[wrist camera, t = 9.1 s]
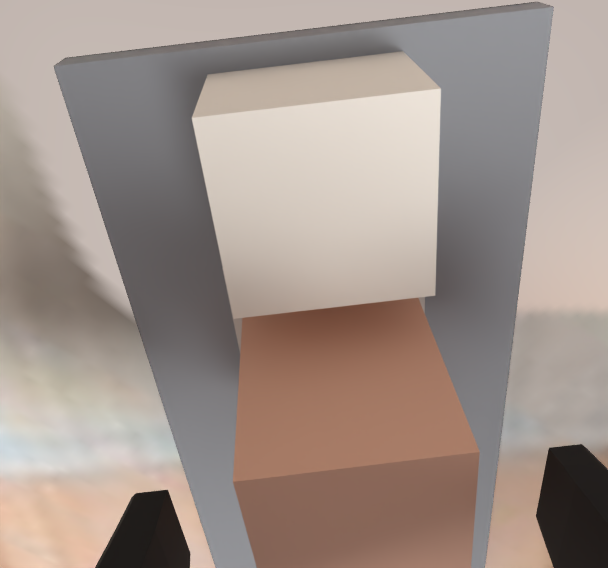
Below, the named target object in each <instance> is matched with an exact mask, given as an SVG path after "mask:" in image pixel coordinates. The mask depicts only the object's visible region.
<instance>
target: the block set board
mask: <svg viewBox="0 0 608 568" xmlns="http://www.w3.org/2000/svg"><path fill="white" fill-rule="evenodd" d="M553 8H554V7H553V6H550V5H546V4H543V3H540V2H531V3H523V4H515V5H506V6H498V7H489V8H481V9H472V10H464V11H455V12H447V13H439V14H430V15H422V16H413V17H405V18H397V19H388V20H380V21H372V22H363V23H355V24H347V25H338V26H330V27H322V28H313V29H304V30H296V31H287V32H279V33H270V34H262V35H254V36H246V37H237V38H228V39H220V40H212V41H204V42H195V43H186V44H178V45H171V46H161V47H153V48H144V49H136V50H128V51H120V52H111V53H103V54H94V55H86V56H77V57H69V58H65V59H63V60H62V61H60V62H59V63H57V64H56V65H55V66H54V69H55V72H56V75H57V79H58V82H59V85H60V88H61V91H62V94H63V97H64V100H65V103H66V106H67V109H68V112H69V116H70V119H71V122H72V125H73V128H74V131H75V134H76V137H77V140H78V143H79V147H80V149H81V152H82V156H83V159H84V162H85V165H86V168H87V171H88V174H89V177H90V180H91V184H92V187H93V190H94V193H95V196H96V199H97V202H98V205H99V208H100V211H101V214H102V218H103V221H104V223H105V227H106V230H107V233H108V236H109V239H110V242H111V245H112V248H113V251H114V255H115V258H116V261H117V264H118V267H119V270H120V273H121V276H122V279H123V283H124V286H125V289H126V292H127V295H128V298H129V301H130V304H131V307H132V310H133V313H134V317H135V320H136V323H137V326H138V329H139V332H140V335H141V338H142V341H143V344H144V347H145V351H146V354H147V357H148V360H149V363H150V366H151V369H152V372H153V375H154V378H155V381H156V385H157V388H158V391H159V394H160V397H161V400H162V403H163V406H164V409H165V412H166V415H167V419H168V422H169V425H170V428H171V431H172V434H173V437H174V440H175V443H176V446H177V449H178V453H179V456H180V459H181V462H182V465H183V468H184V471H185V474H186V477H187V480H188V483H189V487H190V490H191V493H192V496H193V499H194V502H195V505H196V508H197V511H198V514H199V518H200V521H201V524H202V527H203V530H204V533H205V536H206V539H207V542H208V545H209V548H210V552H211V555H212V558H213V561H214V564H215V567H216V568H257V567H256V563H255V560H254V556H253V552H252V549H251V545H250V542H249V538H248V535H247V531H246V527H245V524H244V520H243V517H242V513H241V509H240V506H239V502H238V499H237V495H236V492H235V488H234V484H233V470H234V453H235V436H236V419H237V402H238V385H239V368H240V351H241V333H242V318H245V317H254V316H263V315H271V314H280V313H289V312H297V311H306V310H315V309H324V308H332V307H341V306H350V305H358V304H367V303H376V302H384V301H393V300H402V299H410V298H419V301H420V303H421V306H422V308H423V311H424V313H425V316H426V318H427V321H428V323H429V326H430V328H431V331H432V333H433V336H434V338H435V341H436V343H437V346H438V348H439V351H440V353H441V356H442V358H443V361H444V363H445V366H446V368H447V371H448V373H449V376H450V378H451V381H452V383H453V386H454V388H455V391H456V393H457V396H458V398H459V401H460V403H461V406H462V408H463V411H464V413H465V416H466V418H467V421H468V423H469V426H470V428H471V431H472V433H473V436H474V438H475V441H476V443H477V446H478V448H479V451H480V456H479V469H478V482H477V496H476V509H475V522H474V535H473V548H472V561H471V568H485V563H486V554H487V546H488V538H489V530H490V522H491V514H492V506H493V497H494V489H495V481H496V473H497V465H498V457H499V448H500V440H501V432H502V424H503V416H504V408H505V400H506V391H507V383H508V375H509V367H510V359H511V351H512V343H513V334H514V326H515V318H516V310H517V301H518V294H519V285H520V277H521V269H522V261H523V253H524V245H525V236H526V228H527V219H528V212H529V203H530V196H531V188H532V179H533V171H534V163H535V155H536V146H537V139H538V131H539V122H540V114H541V106H542V97H543V90H544V81H545V74H546V65H547V57H548V49H549V41H550V33H551V25H552V16H553Z"/></svg>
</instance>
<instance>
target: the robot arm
mask: <svg viewBox="0 0 608 568" xmlns="http://www.w3.org/2000/svg"><path fill="white" fill-rule="evenodd" d="M536 517H537V520H538V523H539V526H540V529H541V532H542V535H543V538H544V541H545V544H546V547H547V550H548V553H549V555H550V558H551V561H552V564H553V567H554V568H608V469H607V468H606V467H605V466H604V465H603V464H602V463H601V462H600V461H599V460H598V459H597V458H596V457H595V456H594V455H593V454H592V453H591V452H590V451H589V450H588V449H587V448H585V447H584V446H583V445H582V444H580V445H571V446H562V447H553V448H549V450H548V456H547V461H546V466H545V471H544V477H543V482H542V487H541V493H540V498H539V503H538V508H537V514H536ZM95 568H190V551H189V548H188V546H187V543H186V540H185V537H184V534H183V531H182V529H181V526H180V523H179V520H178V517H177V515H176V512H175V509H174V506H173V503H172V501H171V498H170V495H169V492H168V490H162V491H153V492H144V493H136V494H135V495H134V496H133V497H132V498H131V500H130V502H129V504H128V506H127V508H126V510H125V512H124V514H123V516H122V518H121V520H120V522H119V524H118V526H117V528H116V530H115V531H114V533H113V535H112V537H111V539H110V541H109V543H108V545H107V547H106V549H105V550H104V552H103V554H102V556H101V558H100V560H99V561H98V563H97V565H96V567H95Z"/></svg>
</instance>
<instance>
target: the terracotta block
mask: <svg viewBox="0 0 608 568" xmlns="http://www.w3.org/2000/svg"><path fill="white" fill-rule="evenodd" d="M479 456H480V451H479V448H478V446H477V443H476V441H475V438H474V436H473V433H472V431H471V428H470V426H469V423H468V421H467V418H466V416H465V413H464V411H463V408H462V406H461V403H460V401H459V398H458V396H457V393H456V391H455V388H454V386H453V383H452V381H451V378H450V376H449V373H448V371H447V368H446V366H445V363H444V361H443V358H442V356H441V353H440V351H439V348H438V346H437V343H436V341H435V338H434V336H433V333H432V331H431V328H430V326H429V323H428V321H427V318H426V316H425V313H424V311H423V308H422V306H421V303H420V301H419V298H410V299H402V300H393V301H384V302H376V303H367V304H358V305H350V306H341V307H332V308H324V309H315V310H306V311H297V312H289V313H280V314H271V315H263V316H254V317H245V318H242V333H241V351H240V368H239V385H238V402H237V419H236V436H235V453H234V470H233V484H234V488H235V492H236V495H237V499H238V502H239V506H240V509H241V513H242V517H243V520H244V524H245V527H246V531H247V535H248V538H249V542H250V545H251V549H252V552H253V556H254V560H255V563H256V567H257V568H471V561H472V548H473V535H474V522H475V509H476V496H477V482H478V469H479Z"/></svg>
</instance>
